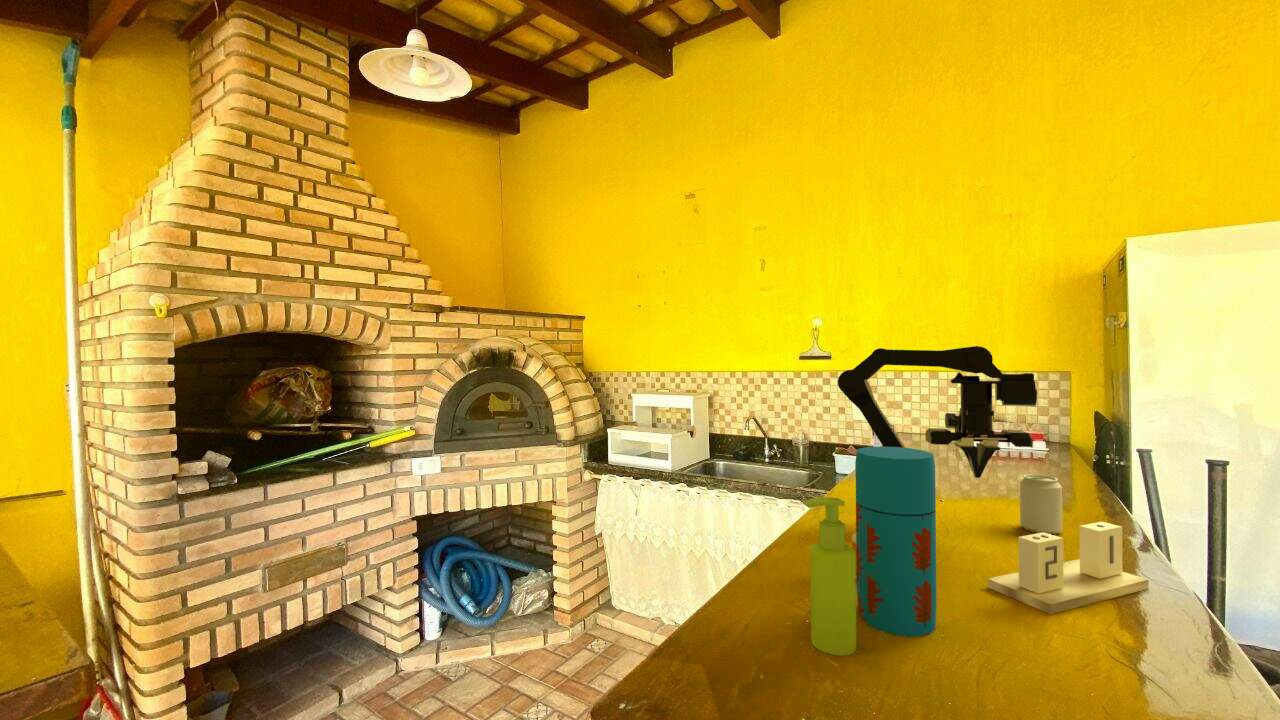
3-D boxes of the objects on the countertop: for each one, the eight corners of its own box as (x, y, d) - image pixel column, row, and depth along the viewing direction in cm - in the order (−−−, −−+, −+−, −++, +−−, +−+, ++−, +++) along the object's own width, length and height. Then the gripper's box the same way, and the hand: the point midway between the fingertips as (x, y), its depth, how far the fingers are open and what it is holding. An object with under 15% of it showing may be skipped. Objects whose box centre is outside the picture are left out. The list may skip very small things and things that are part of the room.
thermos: (929, 607, 83) (928, 448, 83) (944, 642, 73) (942, 461, 73) (855, 598, 87) (853, 445, 87) (859, 630, 77) (857, 457, 76)
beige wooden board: (987, 587, 90) (987, 578, 90) (1081, 566, 98) (1081, 558, 98) (1050, 614, 80) (1050, 604, 80) (1148, 588, 89) (1148, 579, 89)
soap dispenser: (797, 634, 76) (795, 494, 76) (844, 631, 76) (842, 492, 76) (814, 657, 70) (812, 505, 70) (864, 654, 70) (863, 503, 70)
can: (1047, 525, 122) (1047, 472, 122) (1070, 536, 114) (1070, 480, 114) (1012, 524, 122) (1012, 472, 122) (1033, 535, 115) (1033, 480, 115)
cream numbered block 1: (1079, 572, 92) (1079, 525, 91) (1102, 566, 94) (1101, 521, 93) (1101, 579, 88) (1100, 530, 88) (1123, 573, 91) (1123, 526, 90)
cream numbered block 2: (1018, 585, 86) (1018, 536, 86) (1043, 580, 88) (1043, 531, 88) (1039, 594, 83) (1038, 542, 83) (1064, 588, 85) (1064, 537, 85)
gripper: (1011, 401, 119) (1012, 471, 119) (919, 401, 124) (920, 467, 124) (1033, 406, 108) (1034, 483, 108) (931, 405, 113) (932, 478, 113)
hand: (977, 477), depth 114 cm, fingers closed
